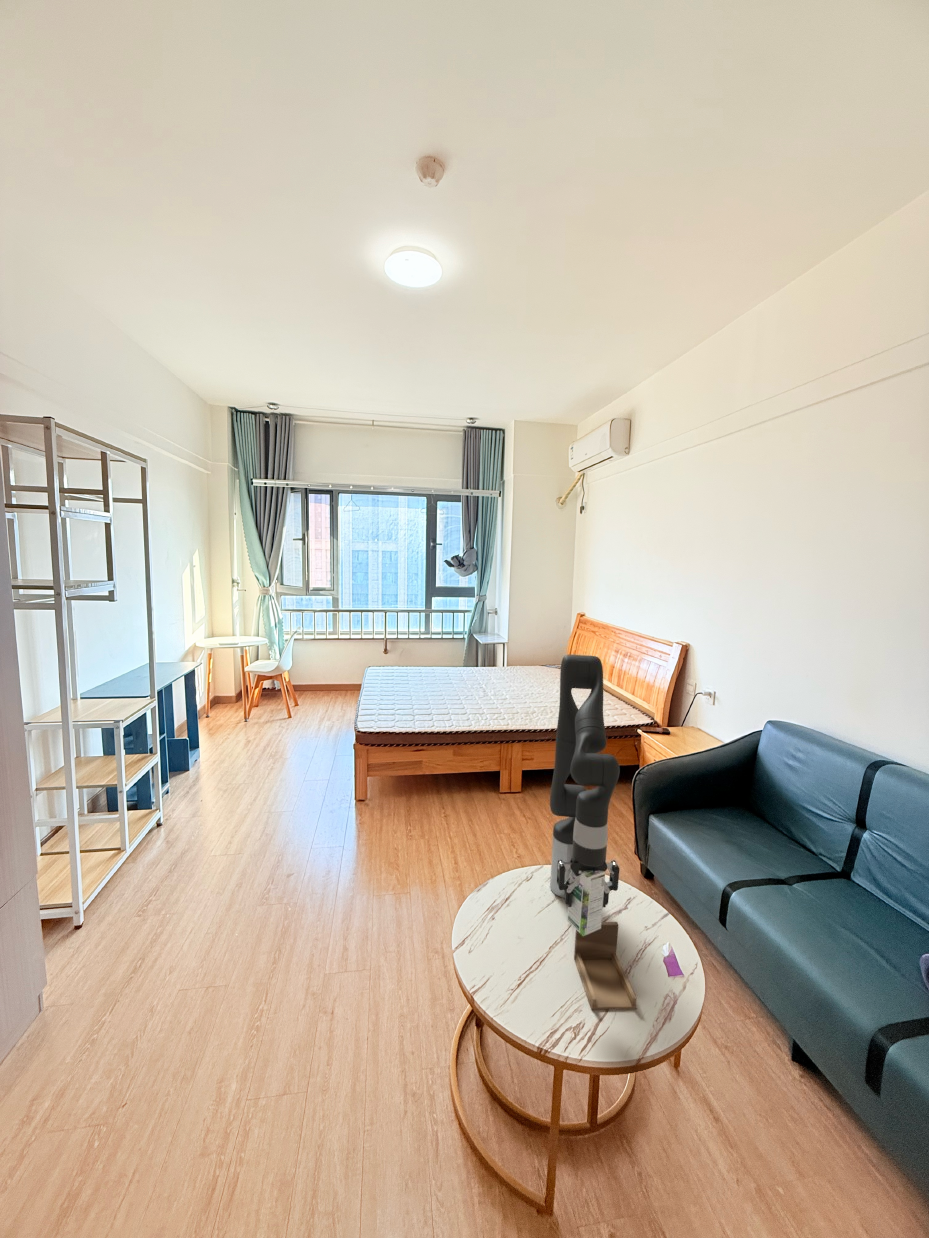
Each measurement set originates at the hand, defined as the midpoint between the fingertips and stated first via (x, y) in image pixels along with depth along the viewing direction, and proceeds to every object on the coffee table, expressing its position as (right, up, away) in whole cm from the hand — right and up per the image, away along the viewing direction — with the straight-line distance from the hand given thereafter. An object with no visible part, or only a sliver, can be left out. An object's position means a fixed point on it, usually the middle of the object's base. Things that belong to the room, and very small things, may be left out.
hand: (585, 904), depth 113 cm
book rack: (+5, -21, +4) cm, 22 cm away
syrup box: (0, -5, +1) cm, 5 cm away
